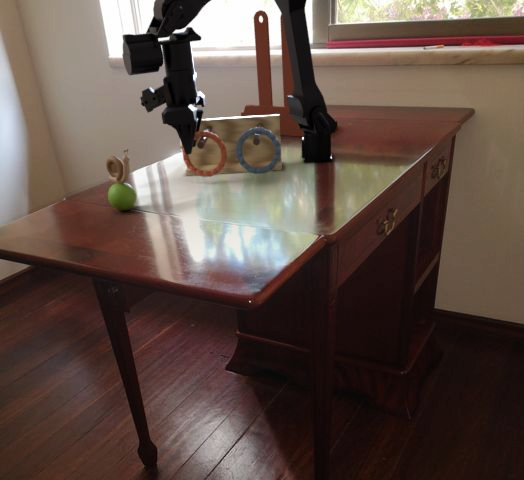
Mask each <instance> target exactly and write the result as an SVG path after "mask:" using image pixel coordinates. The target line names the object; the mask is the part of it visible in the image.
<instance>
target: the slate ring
mask: <svg viewBox="0 0 524 480" xmlns="http://www.w3.org/2000/svg"><path fill="white" fill-rule="evenodd" d="M253 134H263V135H265V136H267V137H268V138H270V139H271V140H272V142H273V144H274V146H275V155H274V158H273V160H272V162H271V163H270V164H269V165H267V166H265V167H263V168H255V167H252V166H250V165H249V164H248V163H247V162H245V160H244V158H243V156H242V146H243V143H244V141H245V140H246V139H247V138H248V137H249V136H251V135H253ZM236 153H237V158H238V160H239V162H240V164H241V166H242V167H244V168H245V169H246V170H247V171H249V172H248V173H251V174H255V175H260V174H266V173H268V172H271V171H270V170H272V169H273V168H274V167H275V166H276V164H277V163H278V161H279V158H280V155H281V156H282V147H281V148H280V143H279V141H278V139H277V137H276V136H275V135H274V134H273V133H272V132H271V131H270V130H267V129H264V128H251V129H250V130H248V131H246V132H244V133H243V134H242V136H241V137H240V138H239V140H238V143H237V146H236Z"/></svg>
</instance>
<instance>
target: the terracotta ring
mask: <svg viewBox="0 0 524 480" xmlns="http://www.w3.org/2000/svg"><path fill="white" fill-rule="evenodd" d="M200 137H207V138H210V139H212V140H214V141H215V142H216V143H217V144H218V146H219V148H220V150H221V160H220V163H219V164H218V166H217V167H216V168H214V169H212V170H210V171H202V170H199V169H197V168H196V167H195V166H194V165H192V163H191V161H190V159H189V154H186V153H185V150H184V148H183V151H182V152H183V154H182V157H183V158H182V159H183V162H184V164H185V166H186V168H187V167H188V169H190V170H191V171H192V172H193V173H194V174H196V175H195V176H199V177H202V178H206V177H207V178H209V177H213V176H215V175H218V174H217V173H219V172H220V171H221V170H222V169H223V167H224V166H225V163H226V160H227V152H226V147H225V145H224V143H223V141H222V140H221V139H220V138H219V137H218V136H217V135H216V134H214V133H211V132H208V131H198V132H196V133H195V138H194V140H196V139H198V138H200ZM182 152H181V153H182Z"/></svg>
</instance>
